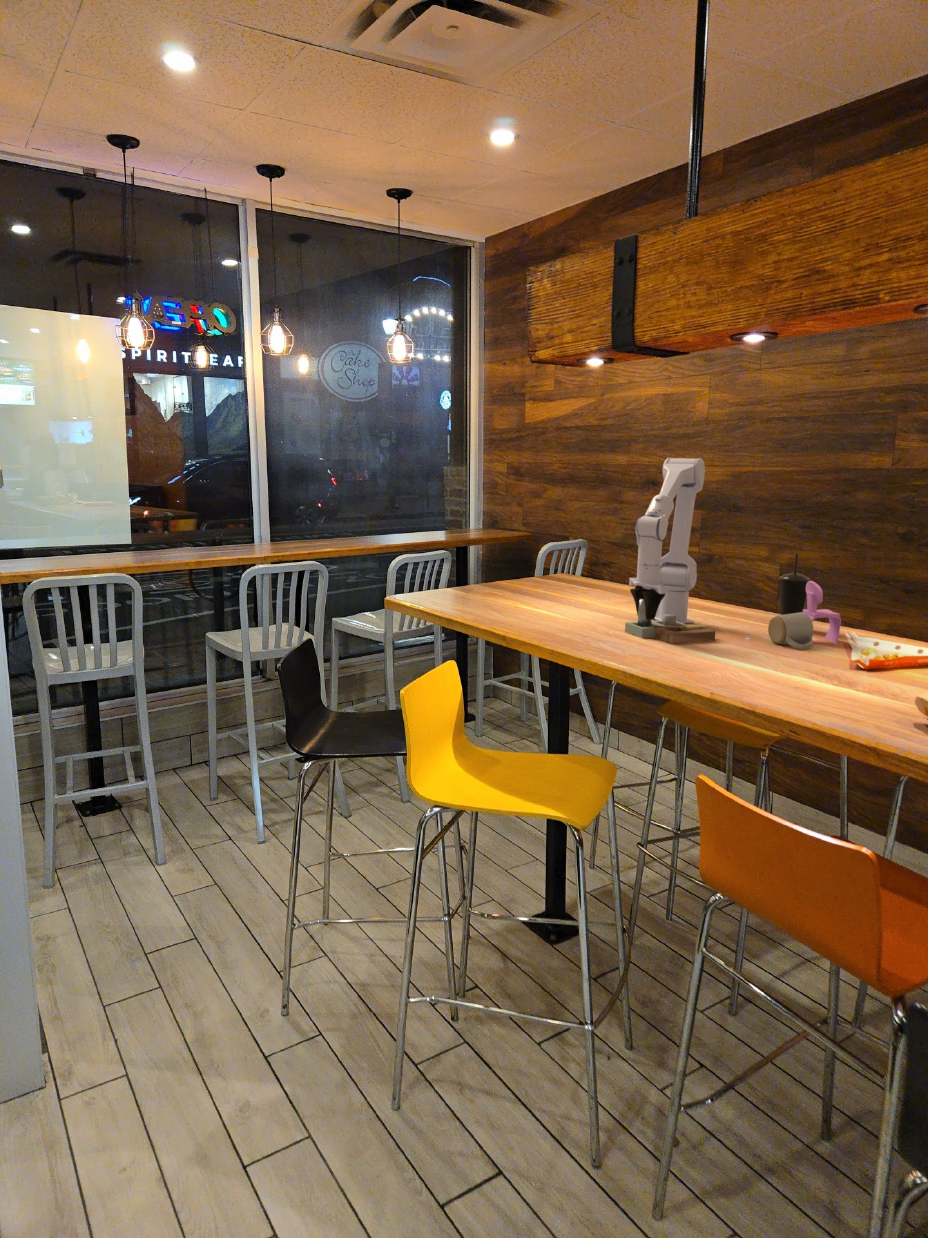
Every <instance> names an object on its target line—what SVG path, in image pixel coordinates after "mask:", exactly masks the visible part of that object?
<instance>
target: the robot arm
mask: <svg viewBox="0 0 928 1238" xmlns="http://www.w3.org/2000/svg"><path fill="white" fill-rule="evenodd" d="M705 465H706V464H705V461H704V460H703V458H701V457H699V458H686V457H684V458H683V457H682V458H678V457H676V458H675V457H667V458H666V459H665V460H664V462H663V465H662V477H663V483H662V486H661V489H660V492H659V494H656V495H655V496H653V497H652V500H651V501H650V503H649V506H648V508H647V510H646V511H645V514H644V515H643V516H641V517H638V519H637V520H636V525H635V530H634V531H635V535H636V545H637V546H638V549H637V550H638V551H637V552H638V553H637V564H636V565H637V568H636V570H637V571H636V577H629V584H628V585H629V586H632V587H633V586H634V588H630V590H629V591H630V594H631V596H632V598H633V601H634V604H635V610H636V615H637V616H638V611H639V599H640V598H644V601H645V614H646V619H648V620H649V619H652V620H654V621H658V620H663V614H673V615H676V621H677V622H681V623H684V624H694V620H692V619H688V612H689V611H688V608H689V595H690V594H689V593H690V591H691V590H692V589H694V587H695V586H696V583H697V577H698V574H697V573H698V572H697V566H698V565H697V562H696V560H694V558H693V557H692V556H690V555H689V554H688V553H689V546H690V538H691V532H692V531H691V530H692V524H693V517H694V508H695V503H696V502H695V501H696V497H697V493H699V492H701V491H702V490H703V487H704V482H705V474H706V466H705ZM675 497H676V499H675V503H674V501H673V500H674V498H675ZM674 508H675V509H674ZM673 510H674V515H673V524H672V530H671V538H670V545H669V552H668V553H666V554H665V555H663V556H662V552H663V551H662V549H663V540H664V539H665V538H666V535H667V531H668V527H669V518H670V517H671V514H672V513H673Z"/></svg>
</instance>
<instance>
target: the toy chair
mask: <svg viewBox="0 0 928 1238" xmlns="http://www.w3.org/2000/svg"><path fill="white" fill-rule="evenodd" d="M806 593H807V594H806V603H807V604H806V605H807V606H806V607H807V608H804V609H803V613H806V614H807V615H808V616H809V617H810V619H811V621H812V623H813V621H815V620H816V619H822V618H828V620H829V628H828V631H827V633H826V635H825V636H824V639H825V640H827V641H829V642H832V643H834V644H839V638H840V629H841V625H842V619H841V614H840V613H839V612H834V611H832V610H830V609H825V608H824V609H818V608H817V607H818V606H819V604H822V603H823V599H824V597H823V596H824V591H823V590H822V587H821V586H820V585H819V584H818V583H816V582H815V581H813V580H810V581H808V582H807V584H806Z"/></svg>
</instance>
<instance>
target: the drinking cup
mask: <svg viewBox="0 0 928 1238" xmlns="http://www.w3.org/2000/svg"><path fill="white" fill-rule="evenodd" d="M794 556H795V557H794V568H793V572H792V573H791V572H790V573H786V574H783V575H781V576H778V577H779V578H778V580H779V581H780V583H779V585H780V586H779V590H780V591H779V595H780V597H779V601H780V602H779V603H780V604H779V605H780V607H779V608H780V609H779V611H780V613H779V615H785V614H792V613H799V612H803V609H805V604H806V601H807V593H806V584H807V582H808V581H811V578H810V577H807V576H806V575H804V574H803V573H799V572H797V571H798V561H799V553H795V555H794Z"/></svg>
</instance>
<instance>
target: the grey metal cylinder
mask: <svg viewBox="0 0 928 1238" xmlns="http://www.w3.org/2000/svg"><path fill="white" fill-rule="evenodd" d="M652 621H653V619H649V620H648V619H646V614H645V601H644V598H640V599H639V611H638V615H637V622H638V626H640V627H651V624H652Z"/></svg>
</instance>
